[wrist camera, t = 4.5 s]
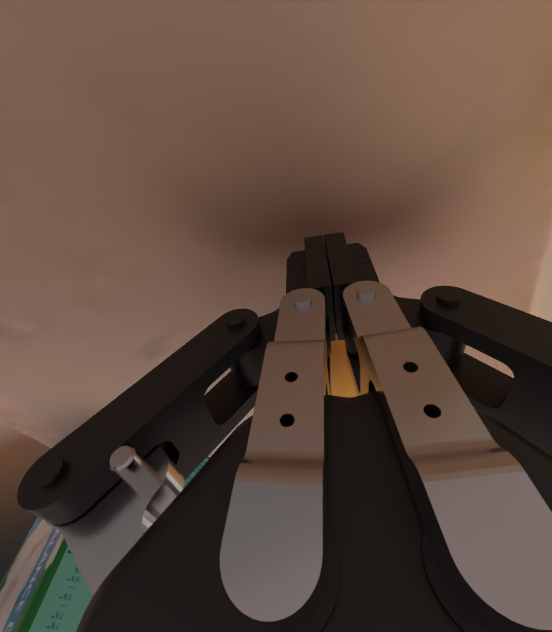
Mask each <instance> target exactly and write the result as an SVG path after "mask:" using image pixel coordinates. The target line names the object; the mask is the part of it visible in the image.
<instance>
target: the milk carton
mask: <svg viewBox="0 0 552 632" xmlns="http://www.w3.org/2000/svg"><path fill="white" fill-rule="evenodd" d="M208 460H209V458H207V457H206V458H205V459H204V460H203V462H202V463H201V464H200V465H199V466H198V467H197V468H196V469H195V470H194V471H193V472H192V473H191V474H190V475H189V476H188V478H187V479H186V480H185V481H184V487H185V486H186V485H187V484H188V483H189V482H190V480H191V479H192V478H193V477H194V476H195V475H196V474H197V472H198V471H199V470H200V469H201V468H202V467H203V466H204V464H205V463H206V462H207V461H208ZM91 599H92V595H91V592H90V590H89V588H88V586H87V584H86V582H85V580H84V578H83V576H82V574H81V572H80V570H79V568H78V565H77V563H76V561H75V559H74V557H73V555H72V553H71V551H70V549H69V547H68V545H67V543H66V540H65V538H64V536H63V534H62V532H60V531H59V530H57V529H55V528H53V527H51V526H50V525H48V524H47V523H46V522H45V521H44V520H43V519H42V518H40V517H38V518H37V519H36V521H35V523H34V525H33V527H32V529H31V531H30V532H29V534H28V536H27V538H26V539H25V541H24V543H23V545H22V547H21V548H20V550H19V552H18V554H17V556H16V557H15V559H14V561H13V563H12V565H11V567H10V568H9V570H8V572H7V574H6V576H5V577H4V579H3V581H2V583H1V585H0V632H76V630H77V627H78V625H79V623H80V621H81V618H82V616H83V614H84V612H85V610H86V608H87V606H88V604H89V603H90V601H91Z"/></svg>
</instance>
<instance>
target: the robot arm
mask: <svg viewBox="0 0 552 632" xmlns="http://www.w3.org/2000/svg"><path fill="white" fill-rule="evenodd" d="M304 242H305V250H304V251H297V252H292V253H291V255H290V256H289V257H288V259H287V279H286V295H285V296H284V297H283V298H282V300H281V303H280V308H279V309H277V310H276V311H274V312H272V313H270V314H267V315H264V316H261V317H258V316H257V314H256V313H255V312H254V311H252V310H249V309H236V310H232V311H229V312H227V313H225V314H224V315H222V316H221V317H219V318H218V319H217V320H216V321H214V322H213V323H212V324H210V325H209V326H208V327H207V328H205V329H204V330H203V331H201V332H200V333H199V334H198V335H196V336H195V337H194V338H193V339H191V340H190V341H189V342H187V343H186V344H185V345H184V346H182V347H181V348H180V349H178V350H177V351H176V352H175V353H173V354H172V355H171V356H169V357H168V358H167V359H166V360H164V361H163V362H162V363H160V364H159V365H158V366H157V367H155V368H154V369H153V370H152V371H150V372H149V373H148V374H146V375H145V376H144V377H143V378H141V379H140V380H139V381H137V382H136V383H135V384H134V385H132V386H131V387H130V388H128V389H127V390H126V391H125V392H123V393H122V394H121V395H119V396H118V397H117V398H116V399H114V400H113V401H112V402H110V403H109V404H108V405H107V406H105V407H104V408H103V409H102V410H100V411H99V412H98V413H96V414H95V415H94V416H93V417H91V418H90V419H89V420H87V421H86V422H85V423H84V424H82V425H81V426H80V427H78V428H77V429H76V430H75V431H73V432H72V433H71V434H69V435H68V436H67V437H66V438H64V439H63V440H62V441H61V442H59V443H58V444H57V445H55V446H54V447H53V448H52V449H50V450H49V451H48V452H46V453H45V454H44V455H43V456H41V457H40V458H39V459H38V460H37V461H36V462H35V463H34V464H33V465H32V466H31V467H30V469H29V470H28V471H27V472H26V474H25V475H24V477H23V479H22V481H21V483H20V485H19V489H18V493H17V500H18V503H19V505H20V506H21V507H22V508H24V509H25V510H27V511H29V512H31V513H33V514H34V515H36V516H38V517H40V518H42V519H43V520H44V521H45V522H46V523H47V524H48V525H50V526H51V527H53V528H55V529H57V530H59V531H60V532H62V534H63V536H64V538H65V540H66V543H67V545H68V547H69V549H70V551H71V553H72V555H73V557H74V559H75V561H76V563H77V565H78V568H79V570H80V572H81V574H82V576H83V578H84V580H85V582H86V584H87V586H88V588H89V590H90V592H91V595H92V599H91V601H90V603H89V604H88V606H87V608H86V610H85V612H84V614H83V616H82V618H81V621H80V623H79V625H78V627H77V630H76V632H552V322H549V321H547V320H544V319H541V318H539V317H536V316H534V315H531V314H528V313H526V312H523V311H520V310H518V309H515V308H512V307H510V306H507V305H504V304H502V303H499V302H496V301H494V300H491V299H488V298H486V297H483V296H480V295H478V294H475V293H472V292H470V291H467V290H464V289H461V288H458V287H453V286H437V287H432V288H430V289H428V290H426V291H425V292H423V294H422V295H421V299H420V300H419V299H408V298H401V297H397V296H393V295H392V293H391V292H390V290H389V288H388V287H387V286H385V285H384V284H382V283H380V282H379V279H378V277H377V274H376V272H375V269H374V267H373V264H372V262H371V259H370V257H369V254H368V251H367V249H366V248H365V247H363V246H362V245H361V244H359V243H354V244H346V240H345V237H344V234H343V232H341V233H334V234H328V235H324V240H323V235H321V236H314V237H307V238H304ZM324 242H325V246H324ZM334 321H335V325H334ZM335 327H336V333H337V339H338V340H344V341H345V346H346V359H347V363H348V366H349V369H350V373H351V376H352V380H353V383H354V387H355V390H356V394H357V396H356V397H350V398H348V397H340V396H333V395H332V390H331V358H330V354H331V351H332V348H331V341H336V338H335ZM466 345H468V346H470V347H472V348H474V349H476V350H478V351H480V352H482V353H484V354H486V355H488V356H490V357H492V358H494V359H496V360H498V361H500V362H502V363H504V364H505V365H507V366H508V367H509V368H510V369H511V370H512V372H513V374H514V378H512V377H510V376H508V375H506V374H504V373H502V372H500V371H498V370H496V369H494V368H493V367H491V366H489V365H487V364H485V363H483V362H481V361H479V360H477V359H475V358H473V357H471V356H469V355H467V354H465V353H464V350H465V347H466ZM228 368H230V369H231V371H230V372H229V373H228V374H227V375H226V376H225V377H224V378H223V379H222V380H221V381H220V382H219V383H218V384H216V385H215V386H214V387H213V388H212V389H211V390H210V391H209V392H208V393H207V394H206V395H205V396H204V394H205V392H206V390H207V388H208V387H209V386H210V385H211V384H212V383H213V382H214V381H215V380H216V379H218V378H219V377H220V376H221V375H222V374H223V373H224V372H225V371H226V370H227V369H228ZM254 406H255V407H254ZM253 407H254V413H253V415H252V416H251V417H249V418H248V419H247V420H245V421H244V422H243V423H242V424H241V425H239V426H238V427H237V428H236V429H235V430H234V431H233V432H232V434H231V435H230V436H229V437H228V438H227V439H226V440H225V442H224V443H223V444H222V445H221V446H220V447H219V448H218V450H217V451H216V452H215V453H214V454H213V455H212V456H211V458H210V459H209V460H208V461H207V462H206V463H205V464H204V466H203V467H202V468H201V469H200V470H199V471H198V472H197V474H196V475H195V476H194V477H193V478H192V479H191V480H190V482H189V483H188V484H187V485H186V486H185V487H184V481H185V480H186V479H187V478H188V476H189V475H190V474H191V473H192V472H193V471H194V470H195V469H196V468H197V467H198V466H199V465H200V464H201V463H202V462H203V460H204V459H205V458H206V457H207V456H208V455H209V454H210V453H211V452H212V451H213V450H214V449H215V448H216V447H217V446H218V444H219V443H220V442H221V441H222V440H223V439H224V438H225V437H226V436H227V435H228V434H229V433H230V432H231V431H232V429H233V428H234V427H235V426H236V425H237V424H238V423H239V422H240V421H241V420H242V419H243V418H244V417H245V416H246V415H247V413H248V412H249V411H250V410H251V409H252V408H253Z"/></svg>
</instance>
